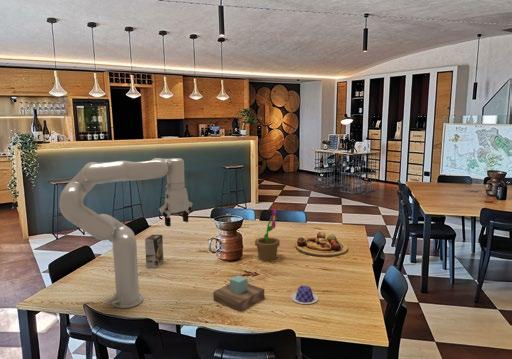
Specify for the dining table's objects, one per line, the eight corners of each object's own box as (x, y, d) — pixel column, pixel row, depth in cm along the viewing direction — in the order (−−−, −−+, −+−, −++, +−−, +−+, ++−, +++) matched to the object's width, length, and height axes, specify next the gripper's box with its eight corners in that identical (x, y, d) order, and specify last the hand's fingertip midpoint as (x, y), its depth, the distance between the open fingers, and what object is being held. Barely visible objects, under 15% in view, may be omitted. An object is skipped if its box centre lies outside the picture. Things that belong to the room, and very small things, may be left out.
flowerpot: (276, 264, 208) (275, 210, 204) (251, 261, 213) (250, 209, 208) (282, 255, 222) (282, 205, 217) (259, 252, 226) (258, 203, 222)
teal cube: (239, 294, 163) (238, 282, 163) (230, 290, 167) (229, 279, 166) (247, 290, 168) (247, 278, 167) (238, 286, 171) (238, 275, 170)
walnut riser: (239, 311, 157) (239, 302, 156) (213, 300, 167) (213, 291, 166) (264, 297, 169) (264, 289, 168) (238, 287, 179) (238, 279, 178)
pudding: (288, 294, 173) (288, 283, 172) (313, 292, 174) (313, 281, 174) (294, 306, 161) (294, 295, 160) (321, 304, 163) (322, 292, 162)
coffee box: (156, 268, 204) (155, 239, 202) (146, 267, 206) (144, 238, 203) (164, 262, 213) (162, 234, 211) (153, 261, 214) (152, 233, 212)
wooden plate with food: (291, 255, 222) (292, 242, 220) (298, 238, 252) (299, 226, 251) (347, 260, 215) (348, 246, 213) (347, 242, 245) (348, 230, 244)
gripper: (164, 189, 158) (165, 229, 161) (196, 184, 171) (197, 221, 174) (154, 187, 163) (155, 226, 166) (186, 183, 176) (187, 218, 179)
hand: (177, 223), depth 170 cm, fingers open, 9 cm apart
